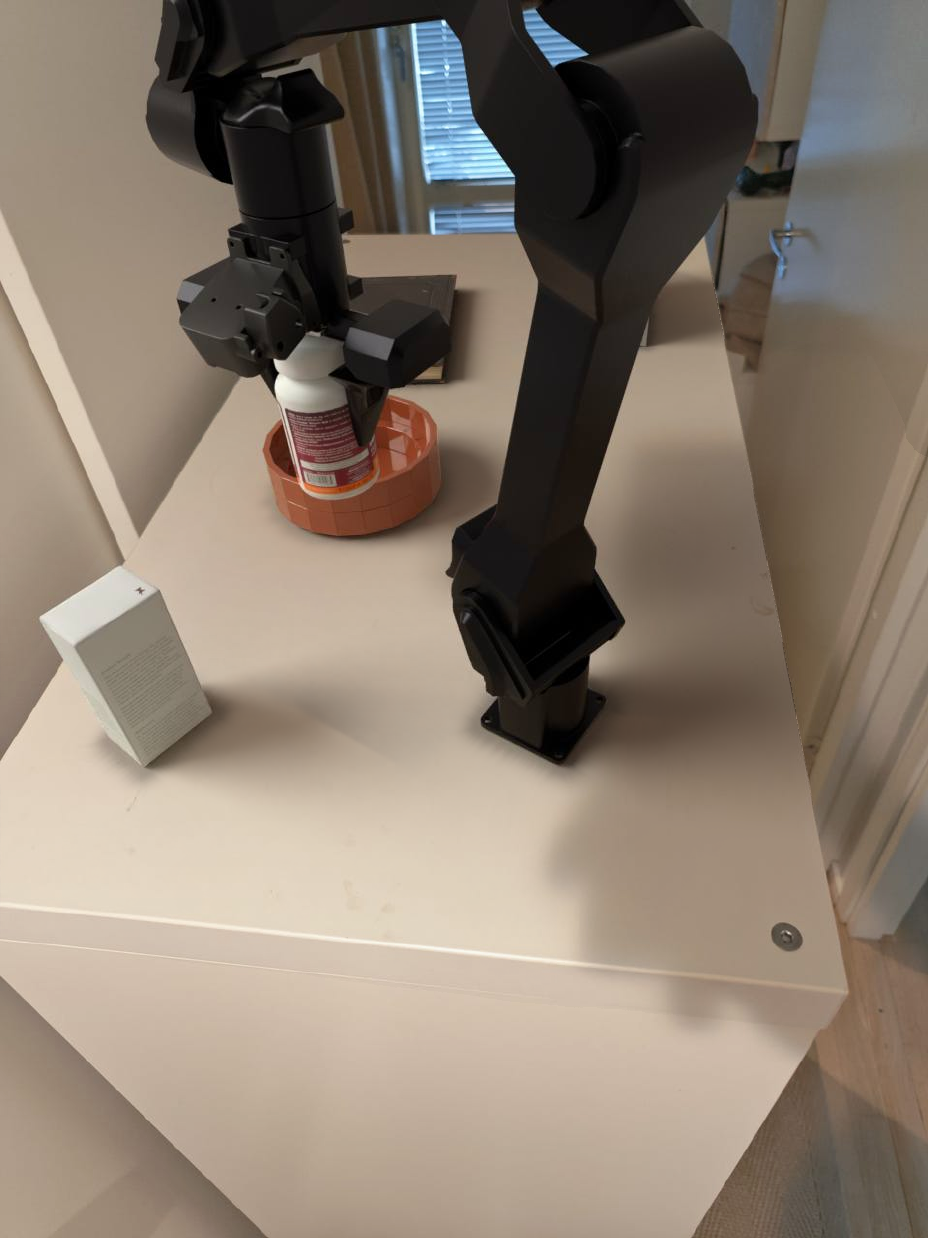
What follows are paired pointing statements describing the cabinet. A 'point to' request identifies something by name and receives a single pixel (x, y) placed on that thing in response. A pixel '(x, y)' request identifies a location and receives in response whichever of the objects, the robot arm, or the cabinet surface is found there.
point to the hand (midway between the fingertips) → (329, 431)
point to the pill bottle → (322, 423)
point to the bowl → (395, 493)
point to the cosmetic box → (129, 663)
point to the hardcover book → (415, 290)
